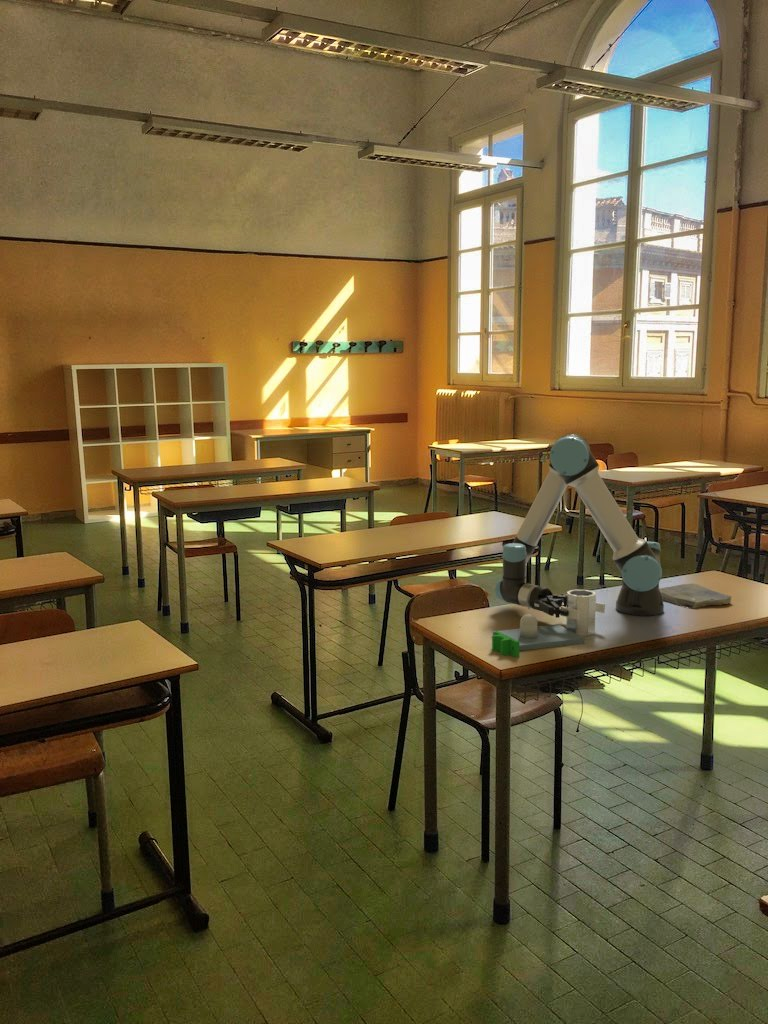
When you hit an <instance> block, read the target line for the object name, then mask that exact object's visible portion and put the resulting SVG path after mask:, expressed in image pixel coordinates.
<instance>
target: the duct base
mask: <svg viewBox="0 0 768 1024" xmlns="http://www.w3.org/2000/svg"><path fill="white" fill-rule="evenodd" d="M495 631H496V630H494V631H492V636H493V635H494V632H495ZM497 631H498V632H501V633H503V634H505V635H507V636H509V637H511V638H513V639H515V640H517V641H519V642H520V645H519V652H521V651H529V650H538V649H546V648H547V647H548V648H554V647H555V646H556V647H564V646H563V645H565V646H572V645H580V644H581V643H582V644H585V637H583V636H579V635H577V634H575V633H573V632H572V631H570V630H568V629H566V627H564V626H563V625H560V624H551V625H550V624H549V625H540V626H538V619H537V617H536V616H535V615H534V614H531V613H526V614H524V615H522V617H521V618H520V621H519V628H512V629H504V630H503V629H502V630H497ZM556 647H555V648H556Z"/></svg>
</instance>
